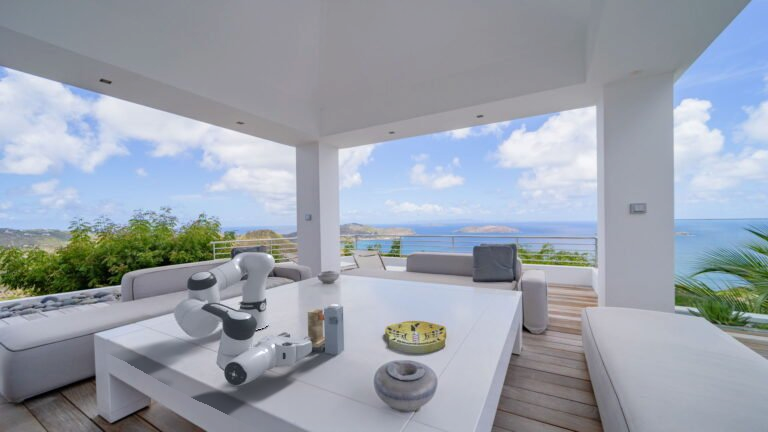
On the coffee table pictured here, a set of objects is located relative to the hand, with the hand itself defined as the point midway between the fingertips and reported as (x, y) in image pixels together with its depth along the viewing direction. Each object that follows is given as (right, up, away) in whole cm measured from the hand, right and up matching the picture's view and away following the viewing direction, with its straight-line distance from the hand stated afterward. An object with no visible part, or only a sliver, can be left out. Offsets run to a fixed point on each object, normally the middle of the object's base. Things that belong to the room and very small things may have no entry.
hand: (298, 337), depth 113 cm
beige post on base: (+4, -7, +10) cm, 13 cm away
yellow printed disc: (+47, -8, +18) cm, 51 cm away
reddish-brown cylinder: (+9, +3, +9) cm, 13 cm away
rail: (-2, -9, +13) cm, 16 cm away
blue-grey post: (+13, -9, +7) cm, 17 cm away
